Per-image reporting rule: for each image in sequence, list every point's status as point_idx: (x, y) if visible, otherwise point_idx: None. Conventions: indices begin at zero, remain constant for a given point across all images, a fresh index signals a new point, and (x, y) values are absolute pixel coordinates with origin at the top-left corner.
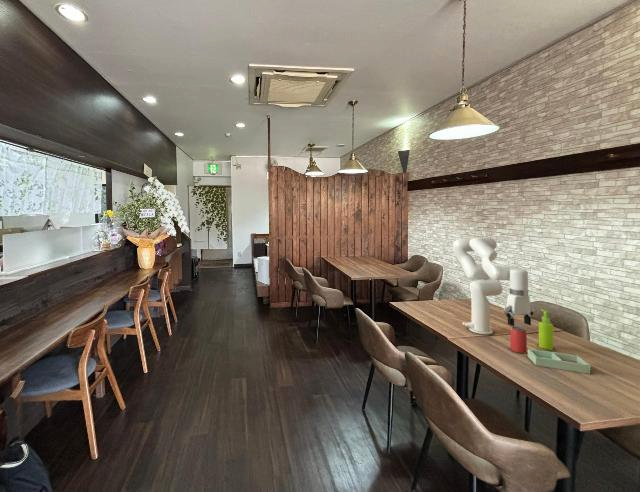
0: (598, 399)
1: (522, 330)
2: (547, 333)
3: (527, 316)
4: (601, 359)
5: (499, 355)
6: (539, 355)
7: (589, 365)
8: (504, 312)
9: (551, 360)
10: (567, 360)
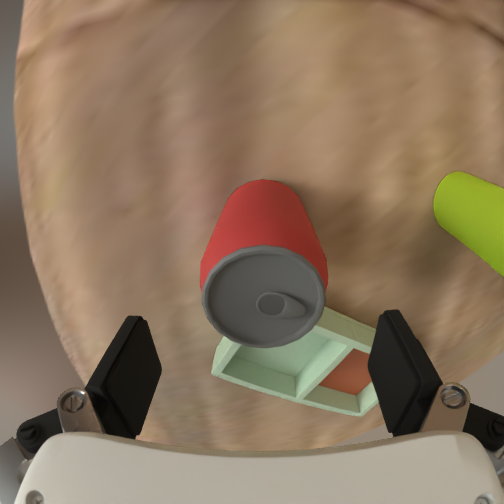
0: (229, 450)
1: (257, 347)
2: (494, 267)
3: (408, 425)
4: (500, 315)
5: (116, 256)
6: None
7: (359, 416)
8: (8, 443)
9: (263, 390)
10: None
